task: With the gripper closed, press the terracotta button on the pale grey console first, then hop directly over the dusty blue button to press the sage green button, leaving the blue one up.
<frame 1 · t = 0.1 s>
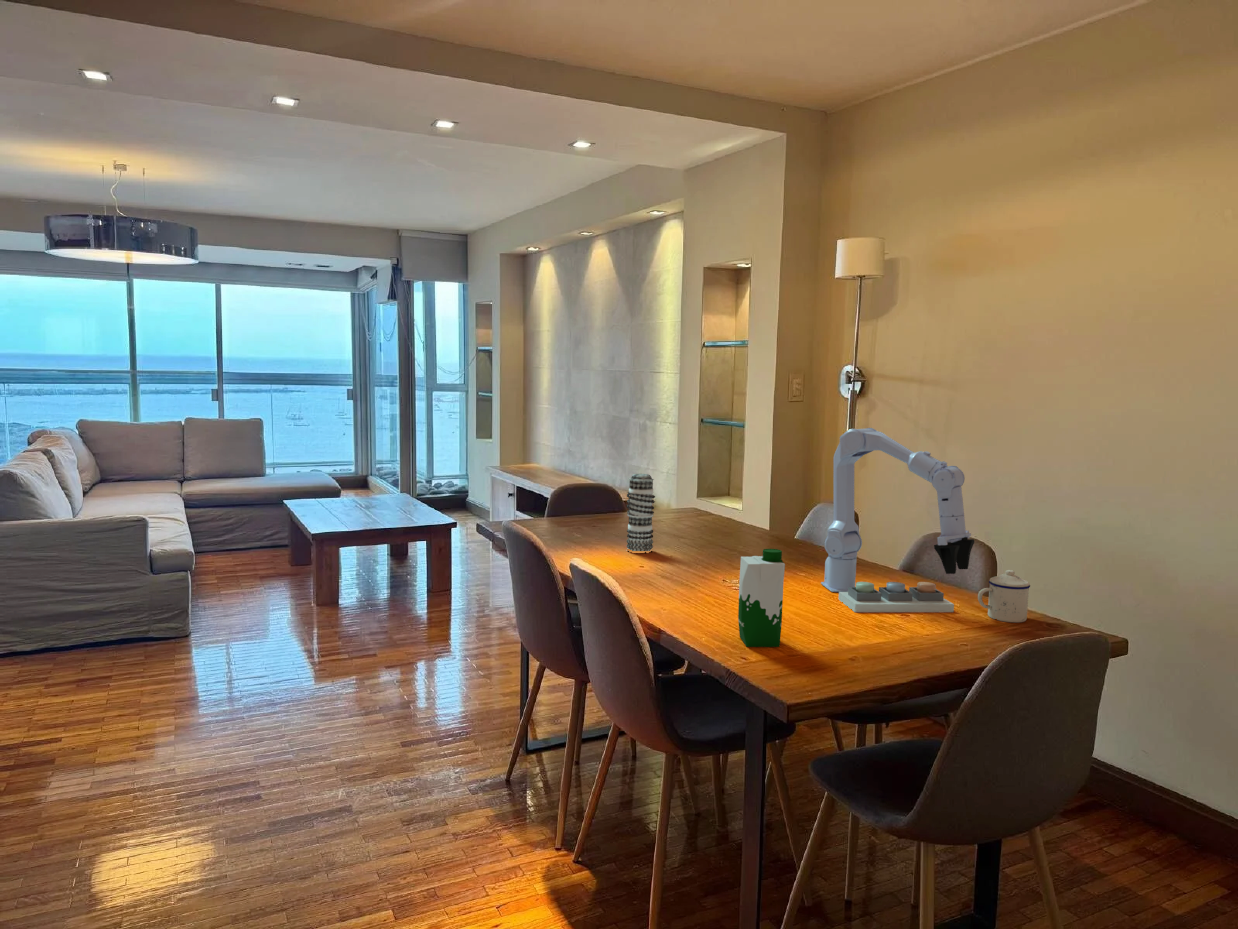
hand: (957, 571, 208), 10 cm above the table, tool pointing down, fingers open, 7 cm apart
decorative candle: (639, 551, 276), on the table
button console: (894, 605, 215), on the table
dusty blue button: (895, 588, 215), point 5 cm above the table, slide at 0.0 cm
sage button: (864, 588, 214), point 5 cm above the table, slide at 0.0 cm
milk carton: (758, 643, 183), on the table
teacup with lid: (1001, 618, 206), on the table
terracotta button: (926, 588, 216), point 5 cm above the table, slide at 0.0 cm
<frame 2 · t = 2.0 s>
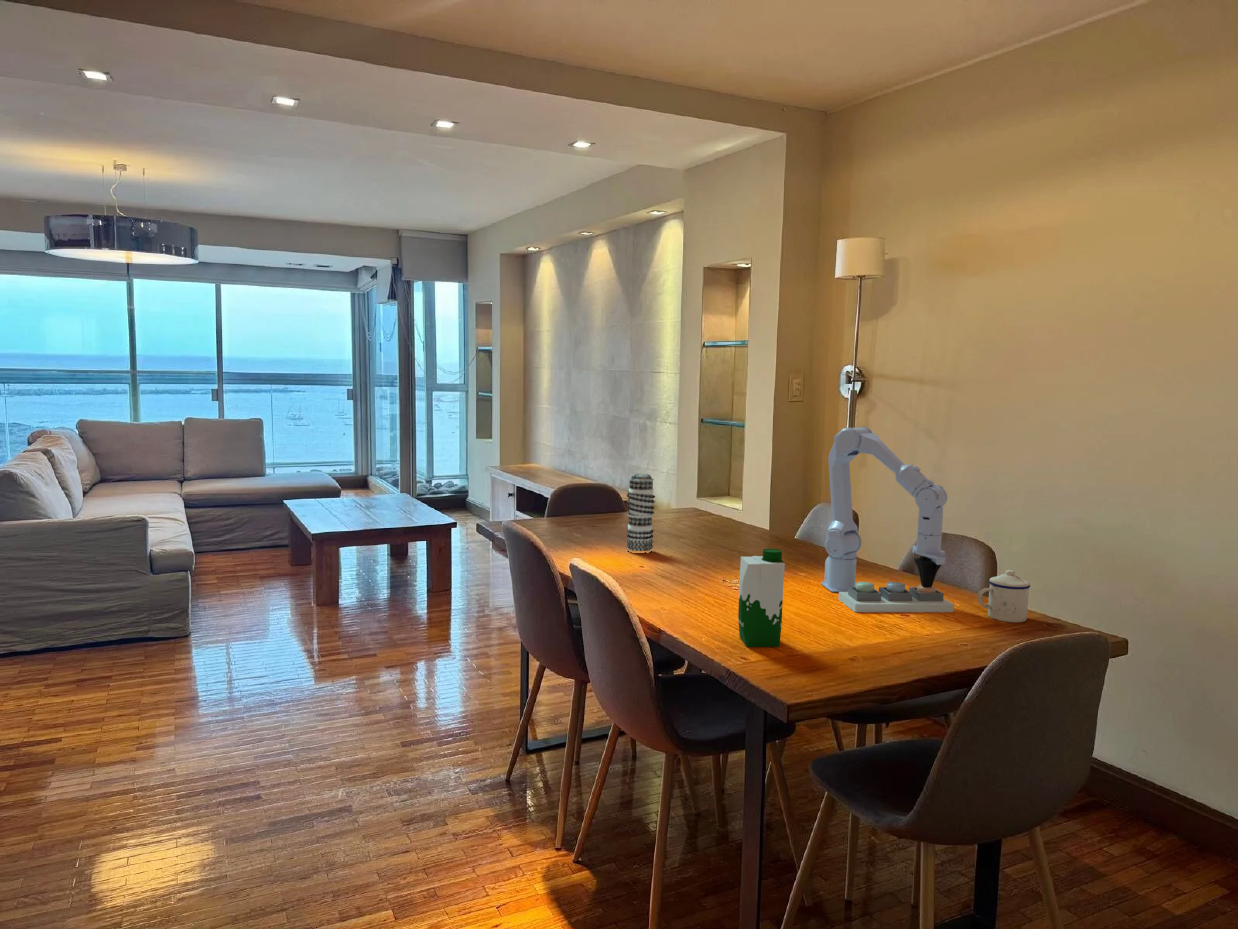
hand: (926, 587, 216), 5 cm above the table, tool pointing down, fingers closed, pressing on terracotta button
terracotta button: (926, 591, 216), point 4 cm above the table, slide at 0.8 cm, touching gripper
everything else where it was.
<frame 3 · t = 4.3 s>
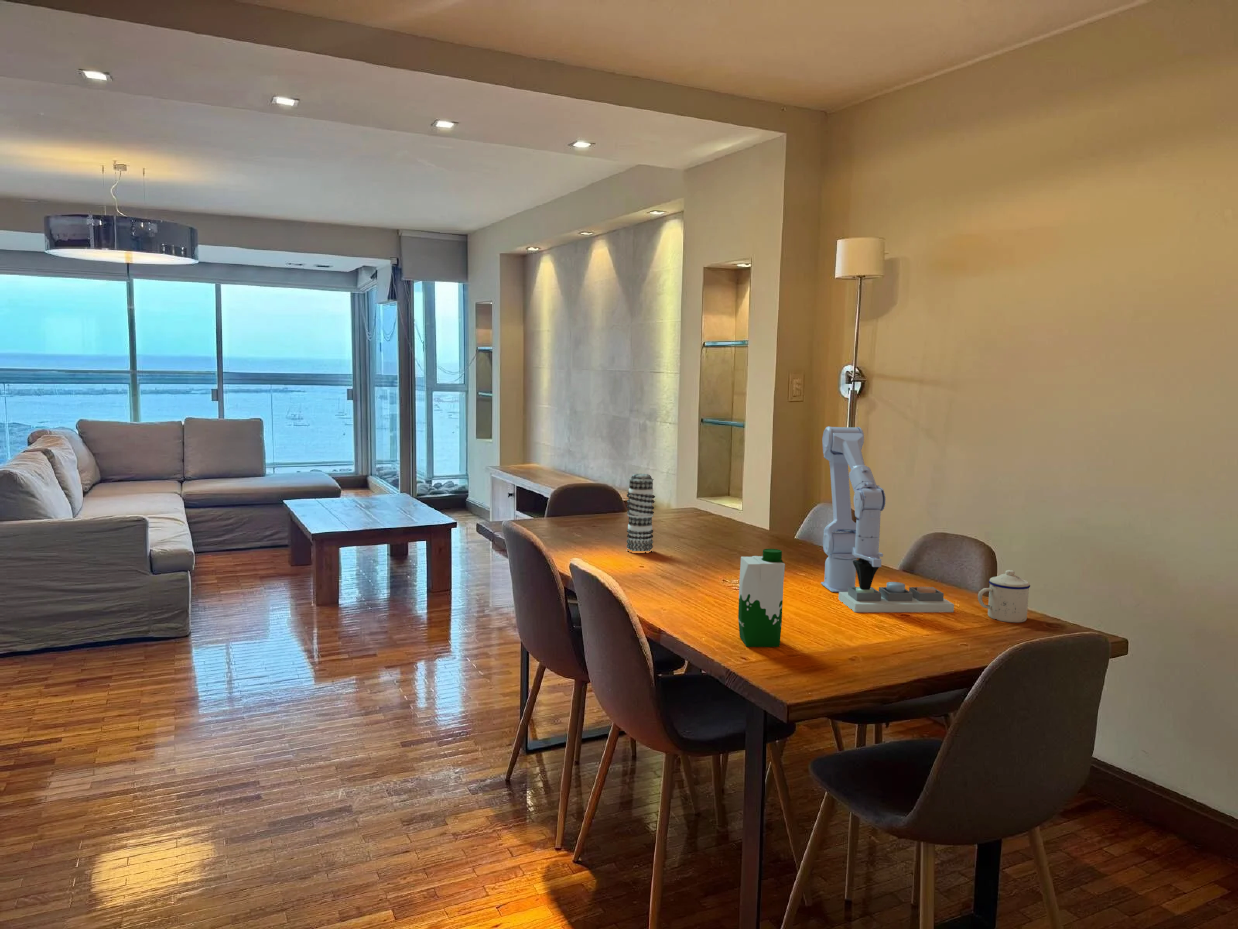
hand: (864, 589, 214), 4 cm above the table, tool pointing down, fingers closed, pressing on sage button
sage button: (864, 593, 215), point 3 cm above the table, slide at 1.3 cm, touching gripper
terracotta button: (926, 593, 216), point 3 cm above the table, slide at 1.3 cm
everything else where it was.
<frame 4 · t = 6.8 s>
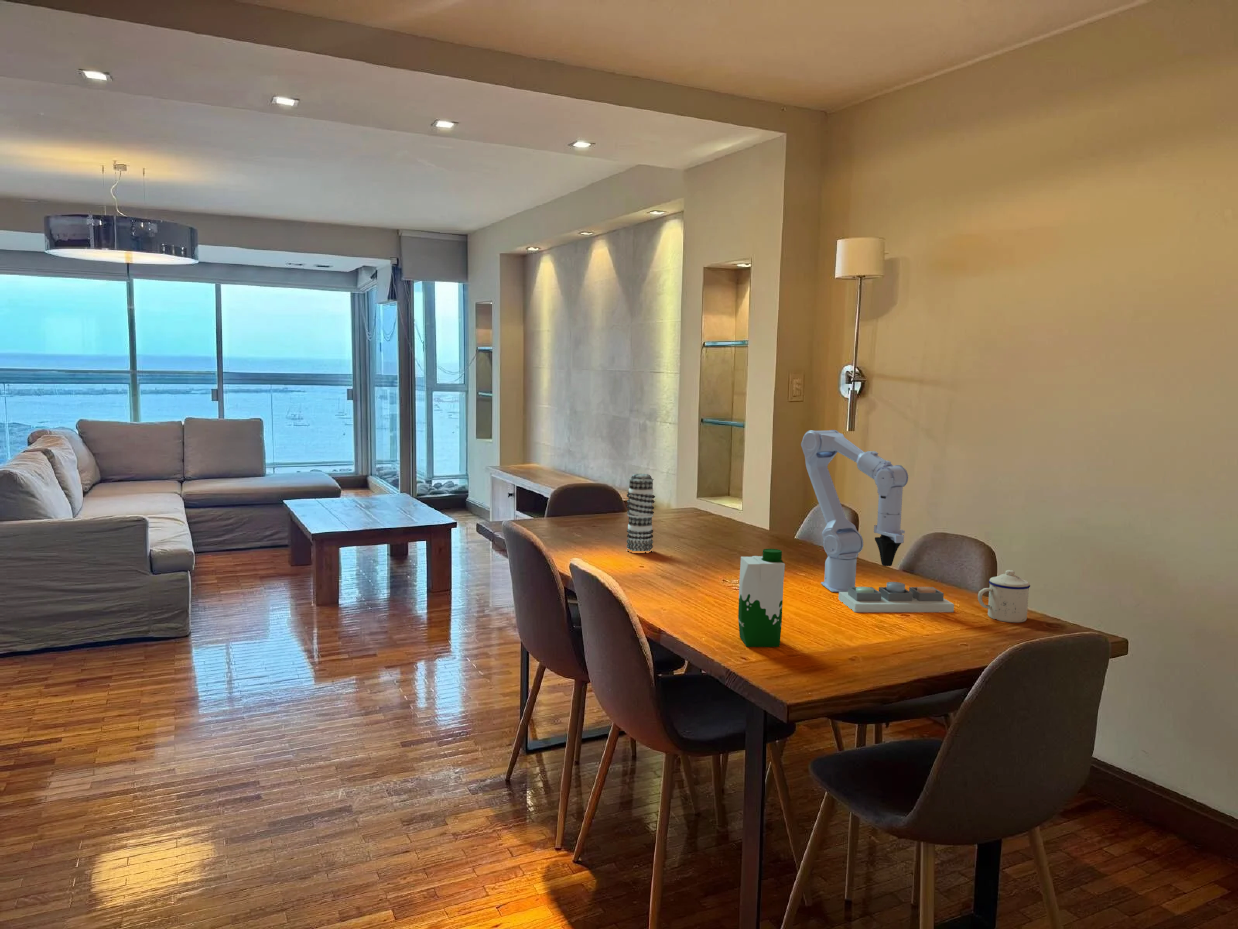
hand: (886, 565, 218), 9 cm above the table, tool pointing down, fingers closed
sage button: (864, 593, 215), point 3 cm above the table, slide at 1.3 cm
everything else where it was.
at the end: terracotta button slide at 1.3 cm; sage button slide at 1.3 cm; dusty blue button slide at 0.0 cm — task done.
